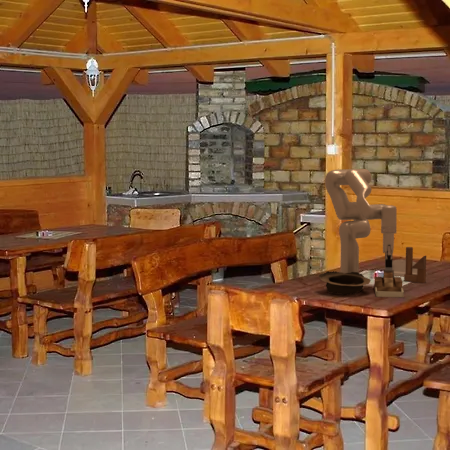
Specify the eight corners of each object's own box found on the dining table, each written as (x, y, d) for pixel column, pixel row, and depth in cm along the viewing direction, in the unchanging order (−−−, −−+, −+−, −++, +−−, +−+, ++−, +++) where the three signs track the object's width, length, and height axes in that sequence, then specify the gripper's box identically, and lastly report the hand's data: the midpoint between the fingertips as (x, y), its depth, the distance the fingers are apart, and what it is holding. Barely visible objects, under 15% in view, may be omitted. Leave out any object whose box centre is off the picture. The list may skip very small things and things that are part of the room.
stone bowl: (330, 285, 423) (332, 267, 422) (376, 293, 411) (378, 275, 410) (310, 292, 402) (311, 274, 401) (358, 301, 390) (360, 282, 388)
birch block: (384, 287, 406) (384, 279, 405) (384, 285, 409) (384, 277, 409) (392, 287, 405) (393, 279, 404) (392, 285, 409) (392, 277, 408)
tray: (375, 296, 394) (376, 291, 394) (375, 292, 406) (375, 287, 405) (403, 297, 392) (403, 292, 392) (402, 292, 404) (402, 287, 404)
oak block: (384, 285, 410) (384, 273, 409) (383, 284, 414) (384, 272, 413) (392, 285, 409) (392, 273, 409) (392, 284, 413) (392, 272, 413)
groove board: (375, 292, 406) (375, 281, 405) (374, 287, 419) (374, 276, 418) (402, 292, 404) (402, 281, 403) (400, 288, 417) (400, 277, 416)
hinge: (386, 275, 455) (388, 257, 457) (389, 277, 459) (391, 259, 461) (416, 277, 447) (418, 259, 449) (418, 279, 451) (420, 261, 453)
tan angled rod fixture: (423, 283, 431) (424, 248, 429) (403, 281, 437) (404, 247, 435) (425, 282, 434) (426, 248, 432) (406, 280, 440) (407, 246, 438)
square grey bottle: (383, 278, 413) (383, 250, 412) (383, 277, 416) (383, 249, 415) (393, 278, 412) (394, 250, 411) (393, 277, 416) (393, 249, 414)
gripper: (380, 228, 421) (380, 264, 423) (381, 231, 405) (381, 269, 406) (395, 228, 420) (395, 264, 421) (397, 231, 403) (397, 269, 405)
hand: (388, 266), depth 414 cm, fingers closed on square grey bottle, 3 cm apart
